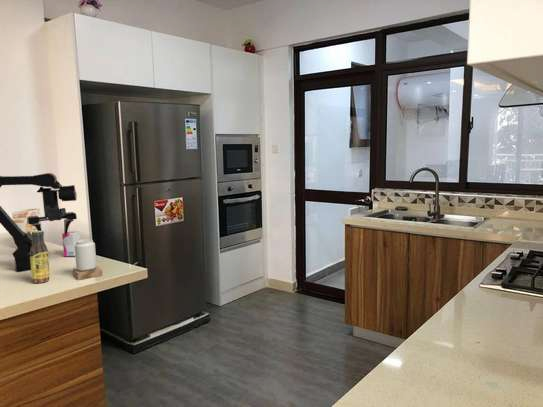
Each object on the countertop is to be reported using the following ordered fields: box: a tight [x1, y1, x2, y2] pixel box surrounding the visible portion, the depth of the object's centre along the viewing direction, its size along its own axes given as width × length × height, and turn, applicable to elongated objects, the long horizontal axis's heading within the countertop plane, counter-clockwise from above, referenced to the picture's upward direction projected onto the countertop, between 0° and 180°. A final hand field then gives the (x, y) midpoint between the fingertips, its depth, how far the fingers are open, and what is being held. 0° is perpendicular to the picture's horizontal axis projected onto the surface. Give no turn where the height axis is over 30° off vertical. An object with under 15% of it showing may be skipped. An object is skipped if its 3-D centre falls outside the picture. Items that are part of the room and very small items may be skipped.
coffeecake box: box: [11, 208, 43, 250], centre depth 230 cm, size 15×7×20 cm, turn 179°
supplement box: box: [61, 231, 81, 258], centre depth 205 cm, size 6×6×12 cm
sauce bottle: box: [30, 230, 50, 284], centre depth 163 cm, size 6×6×20 cm
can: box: [74, 238, 98, 271], centre depth 170 cm, size 8×8×12 cm
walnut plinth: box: [72, 265, 103, 281], centre depth 171 cm, size 9×9×2 cm
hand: (54, 237), depth 185 cm, fingers open, 9 cm apart
